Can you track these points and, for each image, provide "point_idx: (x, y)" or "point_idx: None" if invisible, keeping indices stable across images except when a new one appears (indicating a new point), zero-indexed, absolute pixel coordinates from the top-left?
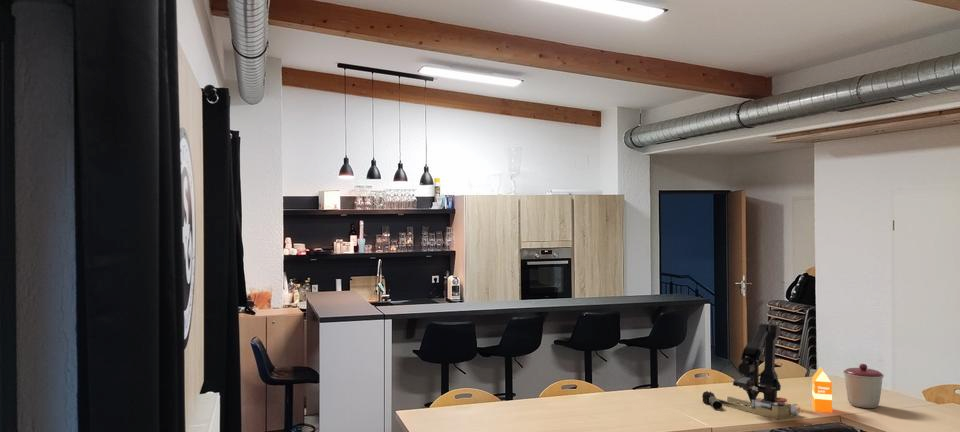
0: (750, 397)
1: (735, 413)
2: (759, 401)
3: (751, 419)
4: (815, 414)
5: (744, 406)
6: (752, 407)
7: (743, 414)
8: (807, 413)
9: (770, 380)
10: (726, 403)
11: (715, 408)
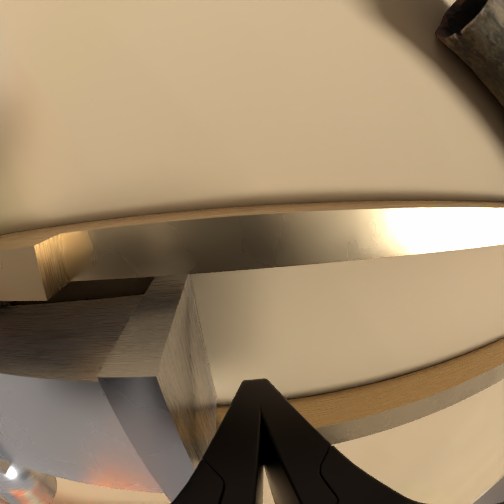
0: (277, 445)
1: (230, 6)
2: (65, 414)
3: (2, 33)
4: None
5: (281, 227)
6: (168, 296)
7: (142, 56)
8: (56, 495)
9: None
10: (501, 205)
11: (449, 9)
